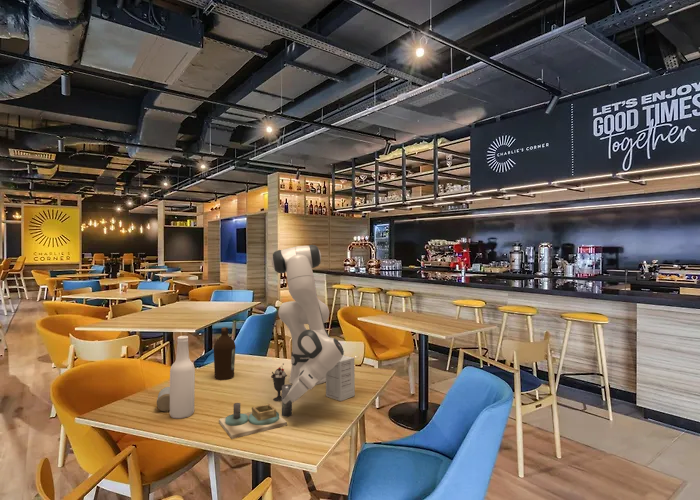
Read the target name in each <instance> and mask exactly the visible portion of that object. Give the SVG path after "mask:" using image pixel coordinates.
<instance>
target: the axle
mask: <svg viewBox="0 0 700 500" xmlns="http://www.w3.org/2000/svg"><path fill="white" fill-rule="evenodd" d="M292 385H293V384H291V383H289V384H287V383H286V384H284V385H282V390H281V397H282V400H283V399H284V398H285V397H286V396H287V394H288V392H289V390H290V388H291V387H292ZM292 415H293V402H291V401H288V402H287V403H286V404H284V403H283V402H282V401H281V417H283V418H284V417H286V418H288V417H291V416H292Z"/></svg>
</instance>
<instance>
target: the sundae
mask: <svg viewBox="0 0 700 500" xmlns="http://www.w3.org/2000/svg"><path fill="white" fill-rule="evenodd" d="M284 365H285V363H282V365H281V366H280V367H278V368H277V369H275V371H274V372H273V371H272V372H271V373H272V375H271V379H272V382H273V387H274V390H275V391H276V392H277V396H276V397H274V398H273V401H274V402H282V385H285V382H286V377H287V376H288V374H286V372H285V368H284V367H283V366H284Z"/></svg>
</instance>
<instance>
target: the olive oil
mask: <svg viewBox="0 0 700 500" xmlns="http://www.w3.org/2000/svg"><path fill="white" fill-rule="evenodd" d="M235 360H236V342H235V340H234V339H233V338H232V337H230V335H229V327H226V326H225V327H221V333H220V337H219V338H218V339H216V341H215V342H214V345H213V367H214V370H213V371H214V373H213V374H214V379H215V380H217V381H226V380H232V379H233V378H234V377H235V365H236V364H235V363H236V362H235Z"/></svg>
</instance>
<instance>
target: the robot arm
mask: <svg viewBox="0 0 700 500" xmlns="http://www.w3.org/2000/svg"><path fill="white" fill-rule="evenodd" d="M321 261H322V254H321V250H320V249H319V247H318V246H317V245H316V244H315V245H314V244H309V245H297V246H294V247H288V248H283V249H279V250H275V251H274V252H273V253H272V256H271V266H272V268H273V269H274V272H276V273H277V274H286V281H287V287H288V293H289V294H290V296H291V298H292V300H293V301H291V300H290V301H285V302H282V304H280V306H279V308H278V311H277V313H278V317H279V320H280V321H281V322H283V324H284V325H285V326H286V327H287V328H288V331H289V333H290V336H291V346H292V347H291V349H292V350H291V356H290V358H291V360H290V361H291V370H290V375H289V379H288V383H289V384H291V385H292V387H291V388H290V390H289V392H288V394H287V396H286V397H285V398H284V399H283V400H282V401H281V403H282V402H283V403H284V404H286V403H287V402H288V401H291V402H292V403H294V402H296V401H298V400H299V399H300V398H301V397H302V396H303V395H305V394H306V393H307V392H308V391H309V390H310V391H311V390H312V389H313V388H314V387H315V386H317V385H320V384H324V383H326V373H327V372H328V371H330V370H331V369H333V368H334V367H335V365H336V364H337V363H338V362H339V361H340V360H341V358H342V357H343V355H344V354H345V353H344V352H345V350H344V348H343V346H342V344H341V343H340V342H339V340H338V339H336V338H334V337H331V336H330V334H329V333H328V331H327V329H326V327H325V323H326V322H327V321H328V319H329V317H330V310H329V307H328V305H327V304H326V303H325V302H323V301H322V300H320V299H319V297H318V293H317V288H316V281H315V276H314V272H313V269H314V268H317V267H319V266H320V265H321ZM305 325H308V327H309V329H307V328H306V326H305ZM344 356H345V355H344Z"/></svg>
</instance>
